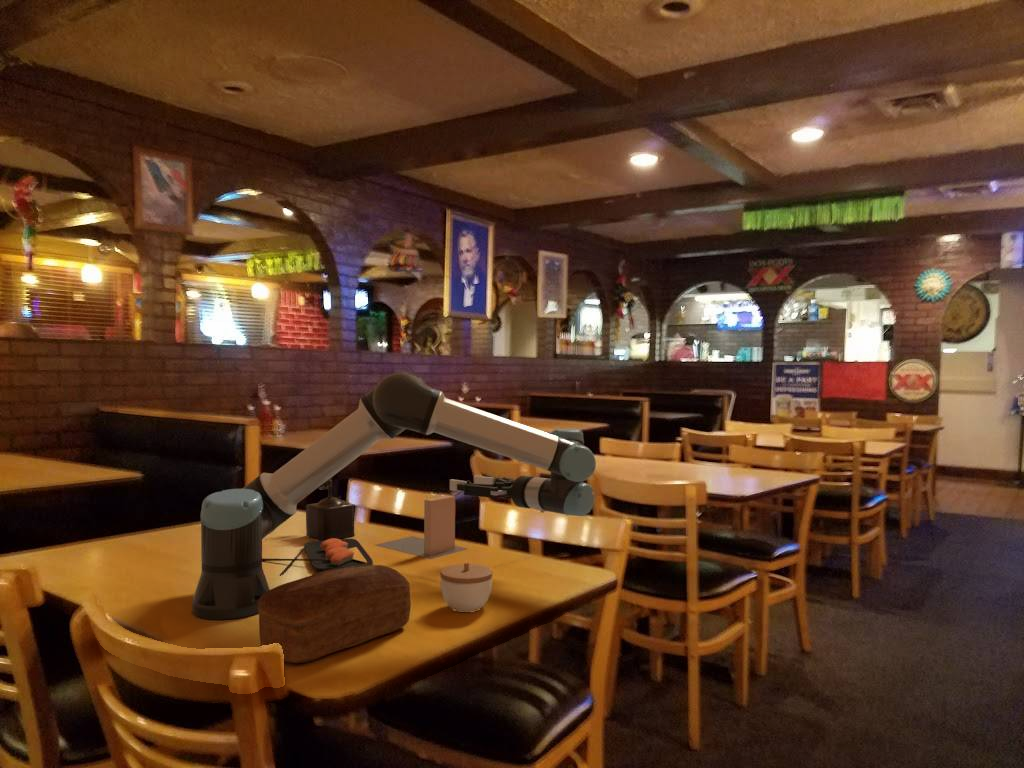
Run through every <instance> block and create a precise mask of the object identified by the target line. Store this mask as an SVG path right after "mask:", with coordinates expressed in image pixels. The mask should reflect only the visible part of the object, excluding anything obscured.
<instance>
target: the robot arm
mask: <svg viewBox="0 0 1024 768" xmlns="http://www.w3.org/2000/svg"><path fill="white" fill-rule="evenodd" d="M405 430H409V431H413V432H417V433H419V434H423V435H426V436H428V435H431V434H433V433H436V434H438V435H440V436H444V437H447V438H450V439H453V440H456V441H459V442H462V443H465V444H467V445H470V446H474V447H476V448H479V449H482V450H484V451H489V452H492V453H494V454H497V455H501V456H503V457H506V458H509V459H512V460H516V461H518V462H521V463H523V464H528V465H531V466H533V467H536V468H539V469H542V470H546V471H548V472H550V474H549V476H550V477H549V478H548V477H547V478H546V477H541V476H540V477H538V476H537V477H536V476H530V475H520V476H518V477H517V478H516V479H514V478H509V477H502V478H501V477H496V478H495V477H493V476H492V477H490V476H483V475H473V483H472V482H471V480H470V479H467V480H466V481H465V480H461V479H460V480H459V479H453V478H451V479H449V491H452V492H456V493H458V492H459V493H463V495H464V496H472V497H480V498H481V497H482V498H488V499H489V498H491V499H494V500H498V499H499V498H503V499H505V500H512V503H513V504H514V505H515V506H517V507H519V508H524V509H533V510H539V511H540V513H541V514H542V513H543V514H544V513H545V512H551V513H556V514H561V515H566V516H577V517H585V516H586V515H588V514H590V512H591V510H593V506H594V503H595V493H594V492H593V487H592V485H590V484H588V483H585V482H584V481H587V480H588V479H589V478H591V477H592V475H593V474H594V472H595V471H596V465H597V464H596V463H597V462H596V458H595V455H594V453H593V451H592V450H591V449H590V448H589V447H588V446H586V445H585V440H584V433H583V430H581V429H576V428H557V429H552V431H551V433H548V432H545V431H543V430H540V429H537V428H534V427H531V426H528V425H525V424H522V423H519V422H516V421H513V420H511V419H507V418H506V417H503V416H499V415H496V414H494V413H491V412H487V411H485V410H482V409H480V408H477V407H473V406H470V405H467V404H466V403H465V404H464V403H462V402H460V401H457V400H454V399H453V400H452V399H450V398H447V397H446V396H445V394H444V392H443V391H442V390H439V389H436V388H433V387H430V385H429V386H428V385H427V383H426V382H425V381H424V380H423V379H422V378H421V376H419V375H418V374H415V373H413V372H410V371H398V372H395V373H391V374H389V375H387V376H385V377H384V378H382V379H381V380H380V381H379V382H378V383H377V384H376V386H374V387H373V388H372V389H371V390H370V391H368V392H367V393H365V394H364V395H363V396H362V397H361V398H360V399H359V403H358V407H357V409H356V410H355V411H353V412H352V413H350V414H349V415H348V416H347V417H345V418H344V419H343V420H342V421H340V422H339V423H337V424H336V425H334V426H333V428H331V429H329V430H328V431H327V432H326V433H325V434H323V435H322V436H320V438H318V439H316V440H315V441H314V442H313V443H311V444H310V445H309V446H307V447H306V448H305V449H304V450H302V451H300V452H299V453H298V454H297V455H295V456H294V457H293V458H291V459H290V460H289V461H287V463H285V464H284V465H282V466H281V467H280V468H278V469H277V470H276V471H274V472H273V473H271V472H270V473H269V472H262V473H261V474H259V475H258V476H257V477H255V478H254V479H253V480H252V481H250V482H249V483H248V484H246V485H245V486H244V487H242V488H231V489H224V490H221V491H217V492H214V493H211V494H208V495H207V496H206V497H205V498H204V499H203V501H202V504H201V510H200V514H199V515H200V530H201V531H200V532H201V533H200V541H201V550H200V551H201V553H200V555H201V560H200V561H201V570H200V571H201V573H200V576H199V580H198V582H197V585H196V588H195V590H194V591H195V592H194V594H193V597H192V601H191V613H192V614H193V615H194V616H196V617H198V618H201V619H207V620H231V619H240V618H245V617H250V616H254V615H257V614H259V612H258V602H259V599H260V597H261V596H262V595H263V594H264V593H265V592H267V591H269V590H271V589H270V587H269V584H268V581H267V578H266V575H265V572H264V569H263V561H262V558H263V539H264V538H266V537H267V536H268V535H270V534H271V533H273V532H274V531H275V530H276V529H277V528H278V527H279V526H281V525H282V524H283V523H286V521H288V520H289V519H290V518H291V517H293V516H294V515H295V514H296V513H297V506H298V503H300V502H302V501H303V500H304V499H305V498H307V497H308V496H309V495H310V494H311V493H313V492H315V490H317V489H319V487H322V486H323V483H325V482H326V481H327V480H329V479H330V478H331V477H332V478H333V477H334V476H335V475H336V474H338V473H339V472H340V471H341V470H343V469H344V468H345V467H347V466H348V465H350V464H351V463H352V462H354V461H355V460H356V459H357V458H358V457H360V456H361V455H363V454H364V453H365V452H367V451H368V450H370V448H372V447H373V446H374V445H375V444H376V443H378V442H379V441H381V440H383V439H384V440H394V439H395V438H396V437H397V436H398V435H400V434H402V432H404V431H405ZM332 478H331V479H332Z"/></svg>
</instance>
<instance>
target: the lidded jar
mask: <svg viewBox="0 0 1024 768" xmlns="http://www.w3.org/2000/svg"><path fill="white" fill-rule="evenodd" d="M463 563H464V564H463ZM463 563H462V564H453V565H449V566H447V567H444V568H442V569H441V570H440V573H439V574H440V586H441V588H440V589H441V593H442V597H443V599H444V601H445V602H446V604H447V605H448V606H449V607H451V608H450V609H451V610H452V609H454V610H456V611H460V612H471V611H476V610H478V609H480V608H481V609H482V607H483V606H484V605H485V604H486V603H487V602H488V600H489V598H490V597H491V591H492V587H493V585H492V583H493V570H492V568H490V567H489V566H484V565H480V564H472V563H469V562H463ZM481 609H480V610H481Z"/></svg>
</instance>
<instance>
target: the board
mask: <svg viewBox="0 0 1024 768" xmlns="http://www.w3.org/2000/svg"><path fill="white" fill-rule="evenodd" d="M375 546H376V547H381V548H385V549H389V550H393V551H398V552H401V553H405V554H409V555H413V556H418V557H422V558H426V559H430V560H433V559H436V558H440V557H443V556H446V555H447V556H448V555H451V554H455V553H458V552H459V553H460V552H461V551H462V552H463V551H465V550H468V549H469V548H468V547H463V546H459V545H455V549H451V550H448V551H444V552H440V553H436V554H432V555H428V554H424V537H423V538H422V537H419V536H413V535H411V536H407V537H402V538H398V539H394V540H389V541H385V542H381V543H377V544H375Z"/></svg>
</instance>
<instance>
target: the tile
mask: <svg viewBox="0 0 1024 768" xmlns="http://www.w3.org/2000/svg"><path fill="white" fill-rule="evenodd" d="M423 501H424V502H423V503H424V507H423V508H424V510H423V511H424V513H423V514H424V517H423V520H424V521H423V522H424V523H423V524H424V525H423V527H424V528H423V529H424V530H423V531H424V532H423V539H424V554H428V555H432V554H436V553H440V552H444V551H448V550H451V549H455V546H456V545H455V543H456V496H453V495H445V496H438V497H433V498H432V497H431V498H428V499H424V500H423Z"/></svg>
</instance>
